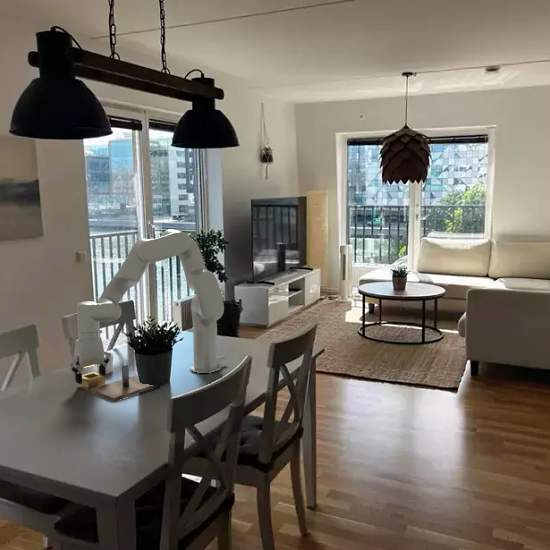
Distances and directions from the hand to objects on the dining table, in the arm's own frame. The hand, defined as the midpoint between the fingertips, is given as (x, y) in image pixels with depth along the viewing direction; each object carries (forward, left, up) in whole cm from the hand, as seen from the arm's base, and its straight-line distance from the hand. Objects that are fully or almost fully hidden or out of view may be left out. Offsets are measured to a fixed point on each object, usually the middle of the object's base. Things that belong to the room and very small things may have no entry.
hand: (91, 379), depth 211 cm
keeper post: (-6, +13, -1) cm, 14 cm away
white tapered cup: (-13, -11, -3) cm, 17 cm away
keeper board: (-6, +13, -2) cm, 15 cm away
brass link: (0, 0, -3) cm, 3 cm away
